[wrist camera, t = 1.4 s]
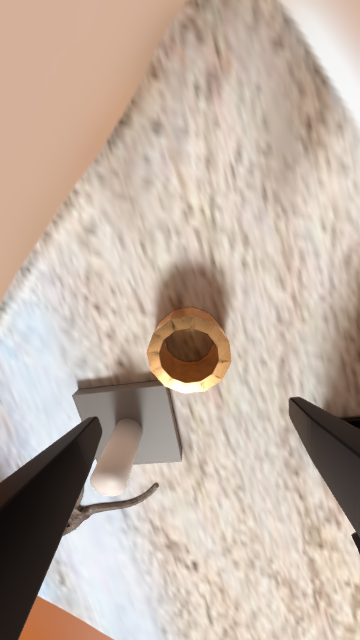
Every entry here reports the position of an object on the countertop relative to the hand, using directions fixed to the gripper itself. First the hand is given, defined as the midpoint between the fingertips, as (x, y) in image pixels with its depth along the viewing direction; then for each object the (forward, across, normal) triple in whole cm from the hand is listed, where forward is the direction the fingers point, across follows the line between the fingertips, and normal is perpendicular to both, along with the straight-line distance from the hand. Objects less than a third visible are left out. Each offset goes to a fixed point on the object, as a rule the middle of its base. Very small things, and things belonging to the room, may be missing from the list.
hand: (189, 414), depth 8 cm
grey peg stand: (+9, +8, +9) cm, 15 cm away
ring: (+9, 0, 0) cm, 9 cm away
